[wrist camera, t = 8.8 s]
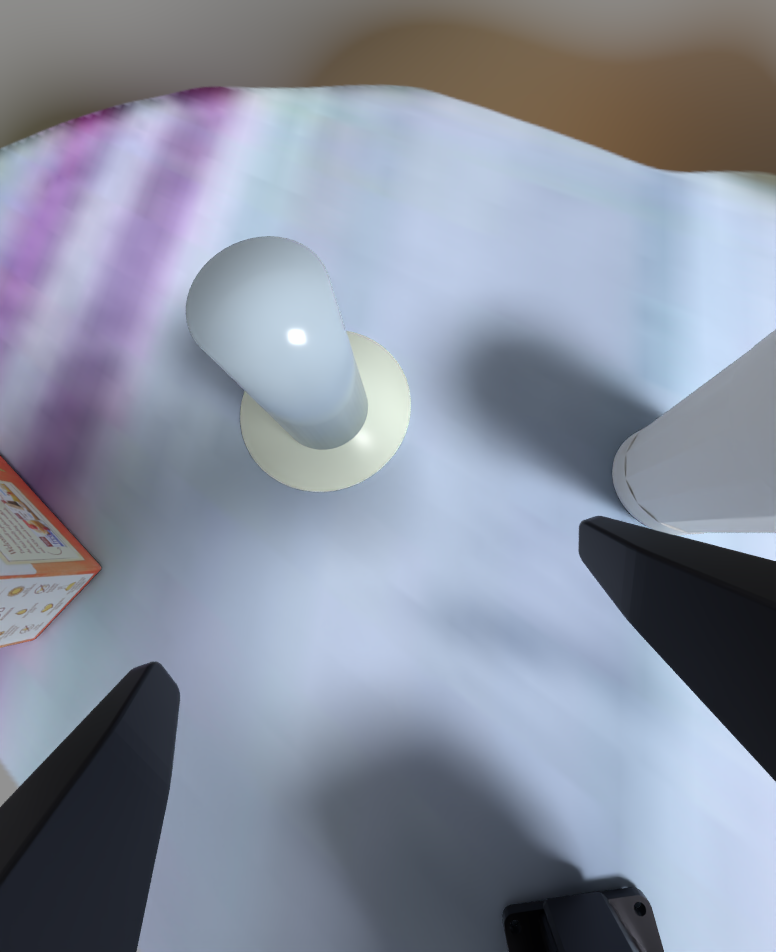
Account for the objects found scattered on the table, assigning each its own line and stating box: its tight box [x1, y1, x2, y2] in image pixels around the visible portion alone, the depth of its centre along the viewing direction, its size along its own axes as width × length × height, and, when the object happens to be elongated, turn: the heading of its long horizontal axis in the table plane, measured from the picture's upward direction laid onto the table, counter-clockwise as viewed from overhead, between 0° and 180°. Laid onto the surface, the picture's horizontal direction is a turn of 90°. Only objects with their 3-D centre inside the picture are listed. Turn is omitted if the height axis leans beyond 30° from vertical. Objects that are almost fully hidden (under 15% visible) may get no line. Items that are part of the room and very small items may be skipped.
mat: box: [240, 331, 411, 492], centre depth 23 cm, size 11×11×1 cm
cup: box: [612, 330, 776, 535], centre depth 15 cm, size 8×8×12 cm
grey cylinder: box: [186, 236, 368, 450], centre depth 18 cm, size 6×6×10 cm
